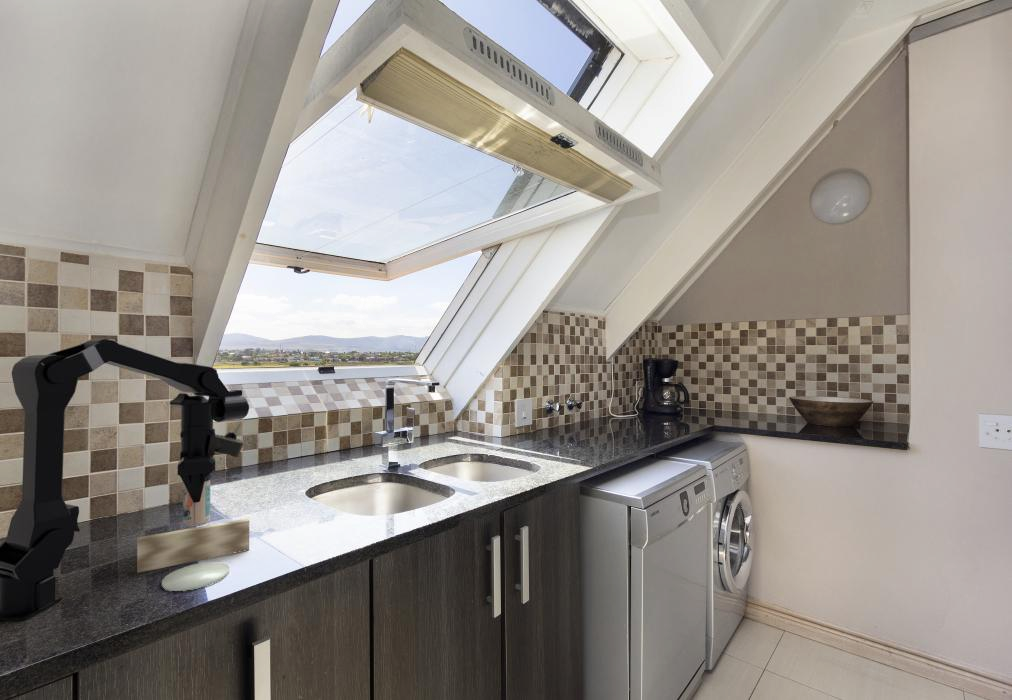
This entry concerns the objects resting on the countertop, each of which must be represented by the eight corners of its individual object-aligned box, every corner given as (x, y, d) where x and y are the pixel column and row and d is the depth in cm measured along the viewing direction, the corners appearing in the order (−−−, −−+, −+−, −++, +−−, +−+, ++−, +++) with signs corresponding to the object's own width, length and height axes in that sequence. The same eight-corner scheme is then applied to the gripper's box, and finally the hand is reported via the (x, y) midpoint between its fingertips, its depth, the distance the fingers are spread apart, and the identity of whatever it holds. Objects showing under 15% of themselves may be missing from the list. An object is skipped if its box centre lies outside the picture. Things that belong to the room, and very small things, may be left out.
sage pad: (147, 591, 79) (147, 588, 79) (187, 565, 89) (187, 562, 89) (206, 591, 79) (206, 588, 79) (240, 565, 89) (240, 561, 89)
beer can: (180, 523, 99) (181, 466, 99) (207, 518, 102) (207, 463, 103) (185, 529, 96) (186, 470, 96) (212, 523, 99) (213, 466, 99)
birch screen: (137, 572, 86) (137, 539, 86) (138, 569, 87) (138, 537, 87) (249, 550, 96) (249, 520, 96) (248, 547, 97) (248, 518, 97)
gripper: (244, 427, 96) (243, 504, 96) (238, 417, 111) (237, 483, 111) (177, 432, 90) (177, 514, 90) (181, 421, 105) (180, 490, 105)
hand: (196, 499), depth 99 cm, fingers closed on beer can, 5 cm apart
